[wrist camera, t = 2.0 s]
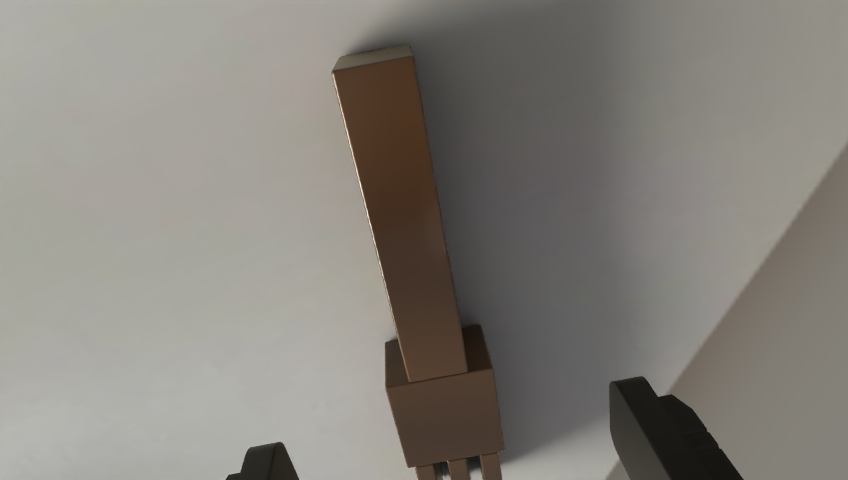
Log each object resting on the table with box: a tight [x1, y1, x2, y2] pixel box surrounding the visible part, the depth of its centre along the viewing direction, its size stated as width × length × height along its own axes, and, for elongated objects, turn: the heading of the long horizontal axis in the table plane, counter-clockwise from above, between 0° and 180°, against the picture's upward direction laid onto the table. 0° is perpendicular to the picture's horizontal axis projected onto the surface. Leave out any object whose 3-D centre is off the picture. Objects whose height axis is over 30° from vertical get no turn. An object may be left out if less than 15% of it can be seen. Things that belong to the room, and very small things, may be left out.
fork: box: [332, 44, 505, 480], centre depth 17 cm, size 18×4×2 cm, turn 10°
